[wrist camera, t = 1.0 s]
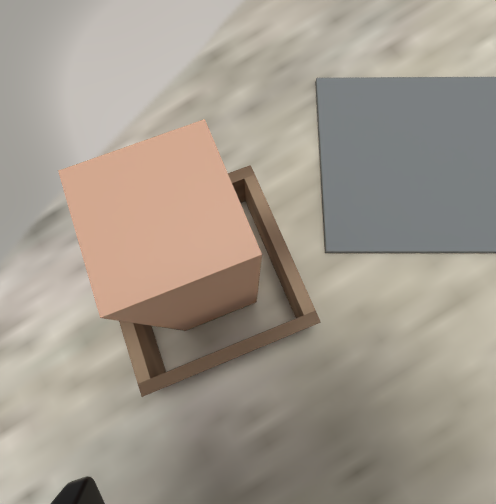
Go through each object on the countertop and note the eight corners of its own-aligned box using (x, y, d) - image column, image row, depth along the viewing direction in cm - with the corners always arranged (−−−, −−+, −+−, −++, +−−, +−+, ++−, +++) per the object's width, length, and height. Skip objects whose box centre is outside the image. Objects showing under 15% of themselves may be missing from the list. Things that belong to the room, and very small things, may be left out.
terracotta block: (256, 302, 23) (262, 254, 10) (185, 330, 22) (99, 317, 10) (229, 235, 24) (204, 119, 11) (161, 261, 24) (58, 170, 11)
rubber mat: (530, 252, 23) (534, 251, 23) (325, 252, 24) (326, 251, 23) (493, 80, 27) (497, 76, 26) (315, 81, 27) (316, 77, 27)
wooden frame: (310, 325, 22) (320, 322, 19) (159, 388, 21) (141, 397, 18) (250, 189, 25) (250, 165, 21) (113, 240, 24) (90, 224, 21)
